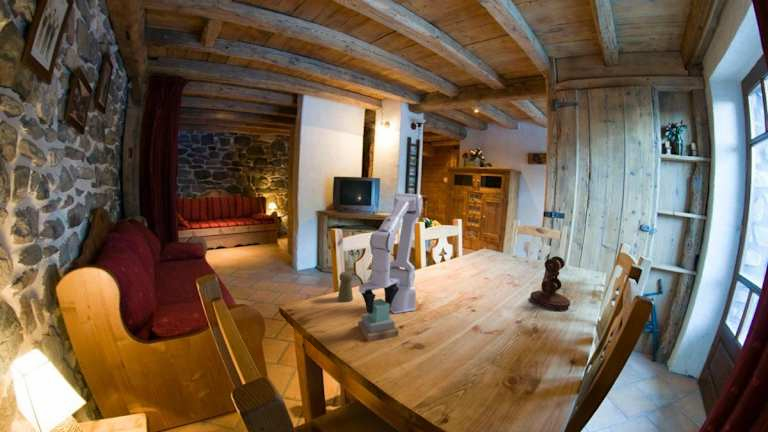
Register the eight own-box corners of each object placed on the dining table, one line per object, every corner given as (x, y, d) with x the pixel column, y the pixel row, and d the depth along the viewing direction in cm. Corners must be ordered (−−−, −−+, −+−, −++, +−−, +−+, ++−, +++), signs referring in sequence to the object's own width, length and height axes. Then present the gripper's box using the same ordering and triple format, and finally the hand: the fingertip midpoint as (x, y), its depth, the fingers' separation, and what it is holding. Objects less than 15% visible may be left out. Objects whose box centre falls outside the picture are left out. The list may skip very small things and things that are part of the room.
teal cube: (380, 312, 101) (380, 298, 101) (388, 318, 97) (389, 304, 97) (367, 316, 98) (368, 301, 98) (376, 322, 94) (376, 307, 94)
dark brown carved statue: (537, 293, 138) (542, 251, 135) (573, 304, 128) (580, 259, 125) (524, 302, 128) (530, 256, 125) (563, 314, 117) (570, 265, 115)
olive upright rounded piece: (350, 303, 118) (351, 276, 116) (335, 301, 119) (336, 274, 118) (354, 297, 124) (355, 271, 122) (340, 295, 125) (341, 269, 123)
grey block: (383, 317, 103) (383, 310, 103) (394, 329, 96) (394, 321, 96) (361, 321, 100) (362, 314, 100) (370, 333, 93) (371, 325, 92)
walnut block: (385, 323, 105) (385, 316, 104) (398, 338, 96) (398, 330, 95) (357, 327, 101) (358, 320, 100) (368, 343, 92) (368, 336, 91)
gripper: (391, 262, 103) (389, 300, 105) (354, 268, 94) (353, 309, 96) (404, 268, 97) (402, 308, 99) (367, 275, 89) (365, 319, 90)
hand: (378, 309), depth 97 cm, fingers open, 7 cm apart
